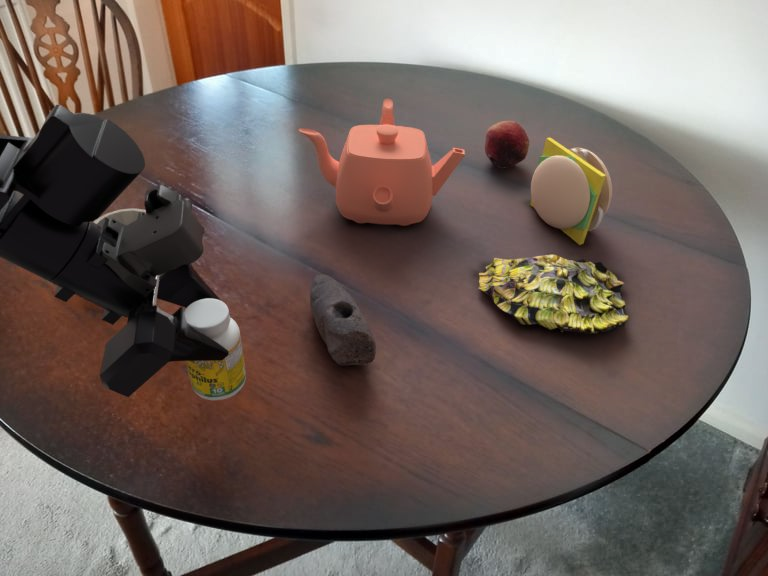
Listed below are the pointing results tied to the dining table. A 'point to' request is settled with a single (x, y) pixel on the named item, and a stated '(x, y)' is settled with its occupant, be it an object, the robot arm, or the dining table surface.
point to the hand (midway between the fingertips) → (225, 334)
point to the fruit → (506, 144)
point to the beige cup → (122, 215)
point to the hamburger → (571, 189)
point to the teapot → (384, 172)
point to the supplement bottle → (218, 325)
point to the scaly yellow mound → (556, 293)
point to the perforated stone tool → (341, 323)
